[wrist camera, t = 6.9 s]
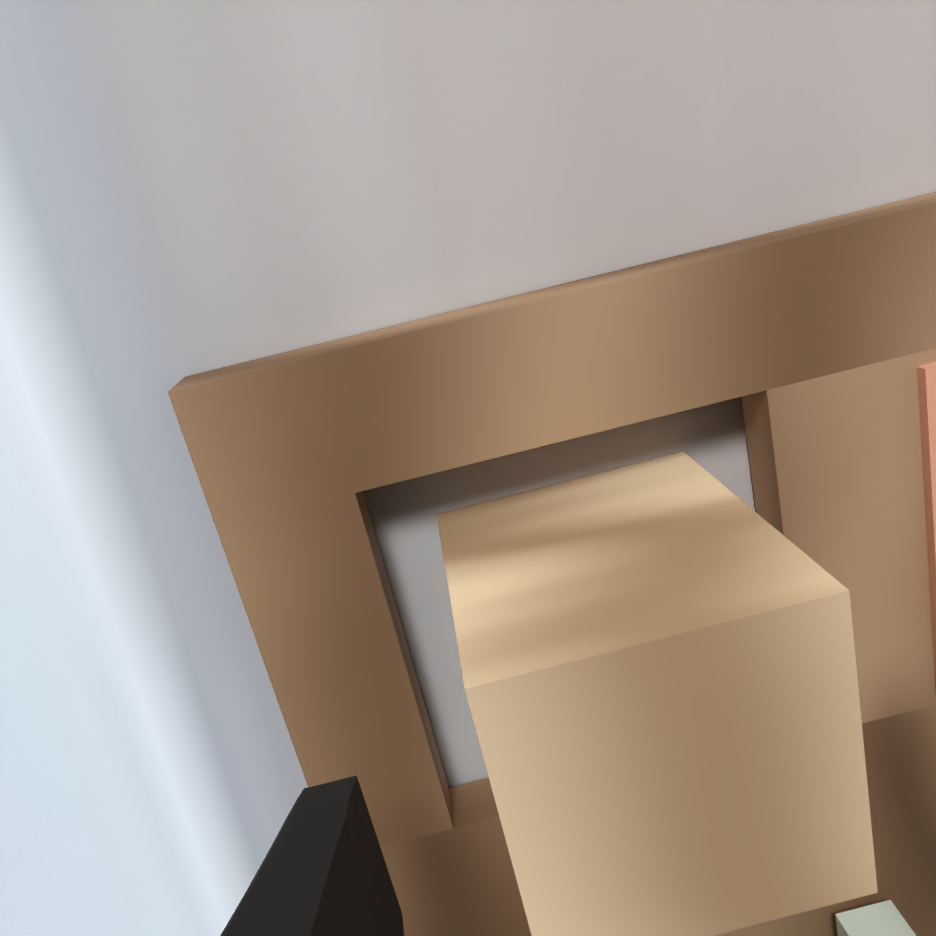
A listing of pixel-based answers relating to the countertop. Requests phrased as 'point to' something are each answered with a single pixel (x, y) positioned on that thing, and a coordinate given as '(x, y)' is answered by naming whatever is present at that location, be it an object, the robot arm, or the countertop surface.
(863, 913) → the sliding cover
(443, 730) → the countertop surface
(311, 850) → the robot arm
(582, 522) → the maple block
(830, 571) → the puzzle board
